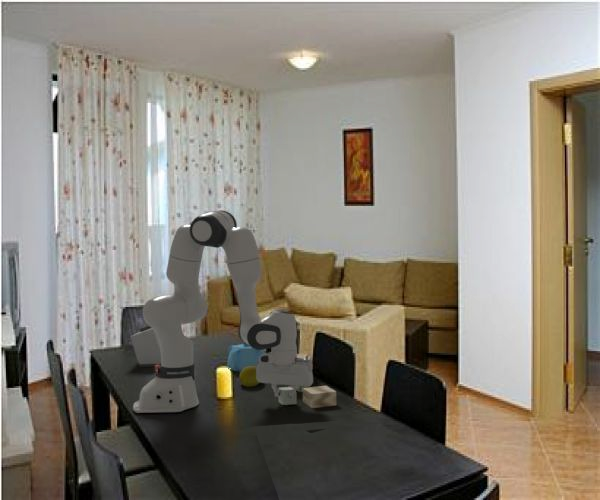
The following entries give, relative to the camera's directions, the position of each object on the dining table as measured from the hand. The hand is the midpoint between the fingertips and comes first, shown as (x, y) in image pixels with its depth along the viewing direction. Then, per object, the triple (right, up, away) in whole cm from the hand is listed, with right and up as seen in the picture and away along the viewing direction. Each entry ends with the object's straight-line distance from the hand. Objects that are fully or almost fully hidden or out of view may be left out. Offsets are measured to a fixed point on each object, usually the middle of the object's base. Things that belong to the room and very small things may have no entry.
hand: (284, 397), depth 211 cm
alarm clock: (-60, -3, +66) cm, 89 cm away
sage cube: (+1, -3, +2) cm, 4 cm away
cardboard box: (+5, -3, +28) cm, 28 cm away
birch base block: (+12, -3, +2) cm, 13 cm away
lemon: (-14, -3, +27) cm, 31 cm away
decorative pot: (-18, -2, +52) cm, 55 cm away
